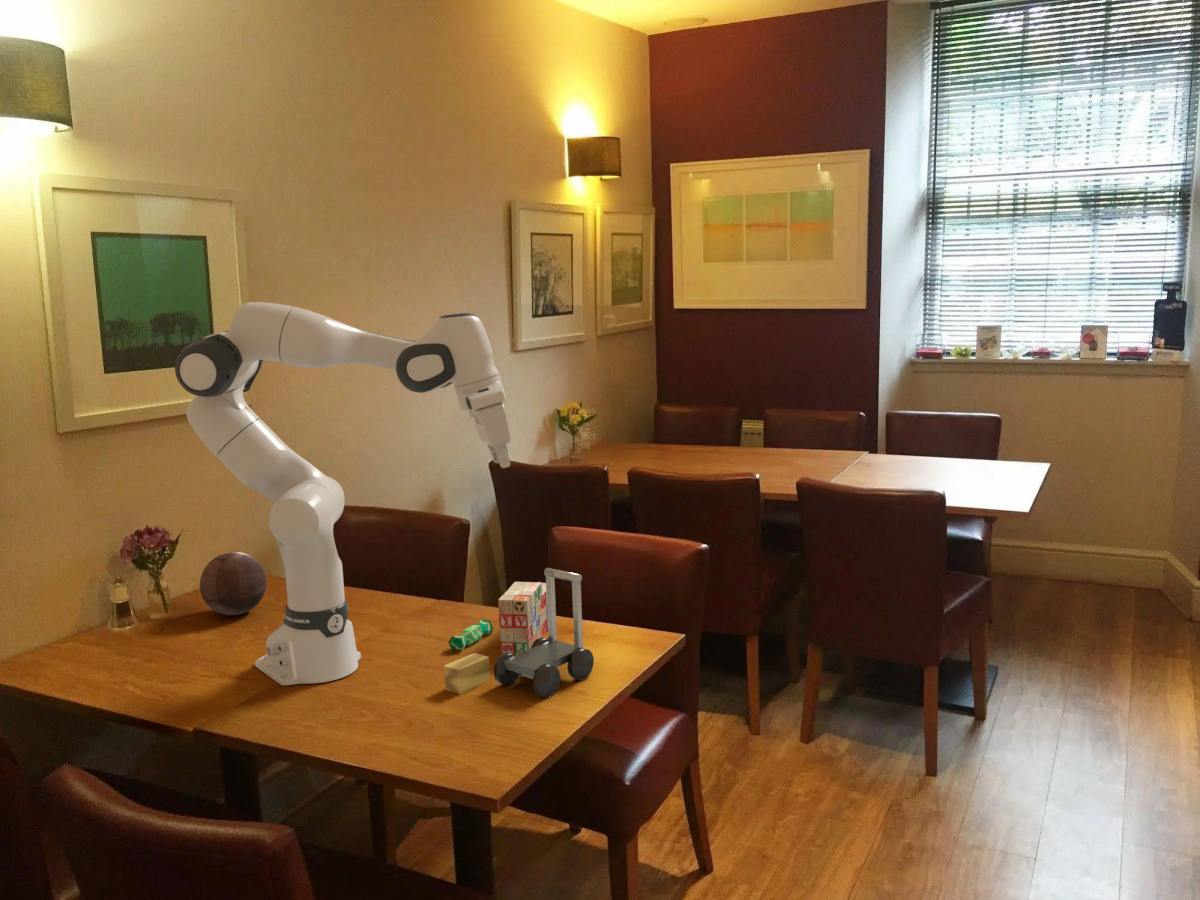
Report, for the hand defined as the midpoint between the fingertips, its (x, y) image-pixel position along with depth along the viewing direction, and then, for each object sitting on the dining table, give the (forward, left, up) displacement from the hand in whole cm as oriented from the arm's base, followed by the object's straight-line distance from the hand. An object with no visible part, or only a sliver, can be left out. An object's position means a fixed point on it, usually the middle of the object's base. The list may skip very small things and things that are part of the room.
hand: (502, 464), depth 192 cm
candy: (-20, +8, -43) cm, 48 cm away
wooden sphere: (-81, -11, -42) cm, 92 cm away
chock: (-3, -9, -42) cm, 43 cm away
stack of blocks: (-11, +17, -43) cm, 47 cm away
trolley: (+8, +1, -42) cm, 43 cm away
